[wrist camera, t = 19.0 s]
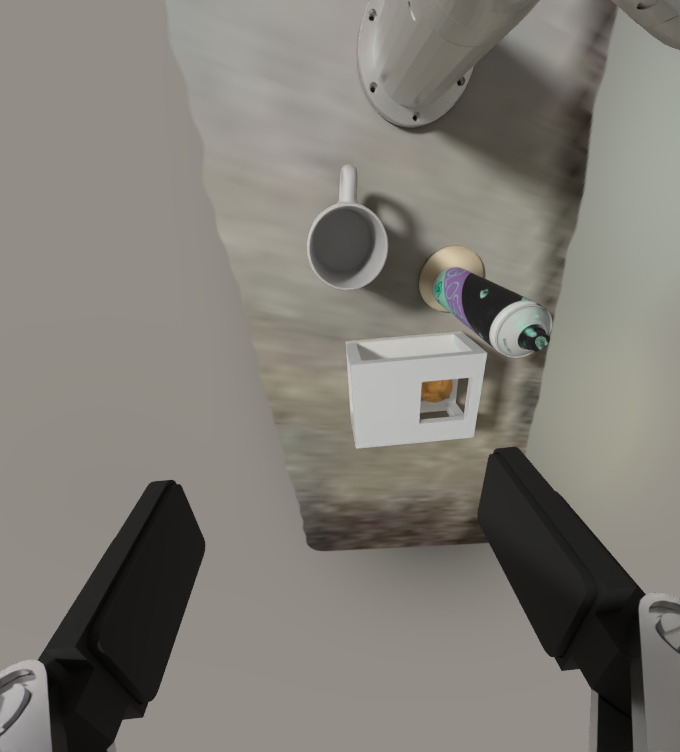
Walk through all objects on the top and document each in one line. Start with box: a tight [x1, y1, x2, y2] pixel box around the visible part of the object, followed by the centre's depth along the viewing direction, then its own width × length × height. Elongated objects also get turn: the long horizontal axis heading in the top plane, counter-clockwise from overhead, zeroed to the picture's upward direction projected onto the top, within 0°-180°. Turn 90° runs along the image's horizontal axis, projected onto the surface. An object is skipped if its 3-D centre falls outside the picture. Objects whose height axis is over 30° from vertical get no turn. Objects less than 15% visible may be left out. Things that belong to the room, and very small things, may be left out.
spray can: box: [432, 267, 552, 358], centre depth 36 cm, size 6×6×20 cm
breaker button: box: [421, 379, 453, 403], centre depth 49 cm, size 5×5×4 cm
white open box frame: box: [346, 331, 487, 448], centre depth 48 cm, size 14×18×8 cm
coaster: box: [419, 246, 483, 312], centre depth 45 cm, size 9×9×1 cm
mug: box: [307, 165, 388, 290], centre depth 36 cm, size 12×8×11 cm
